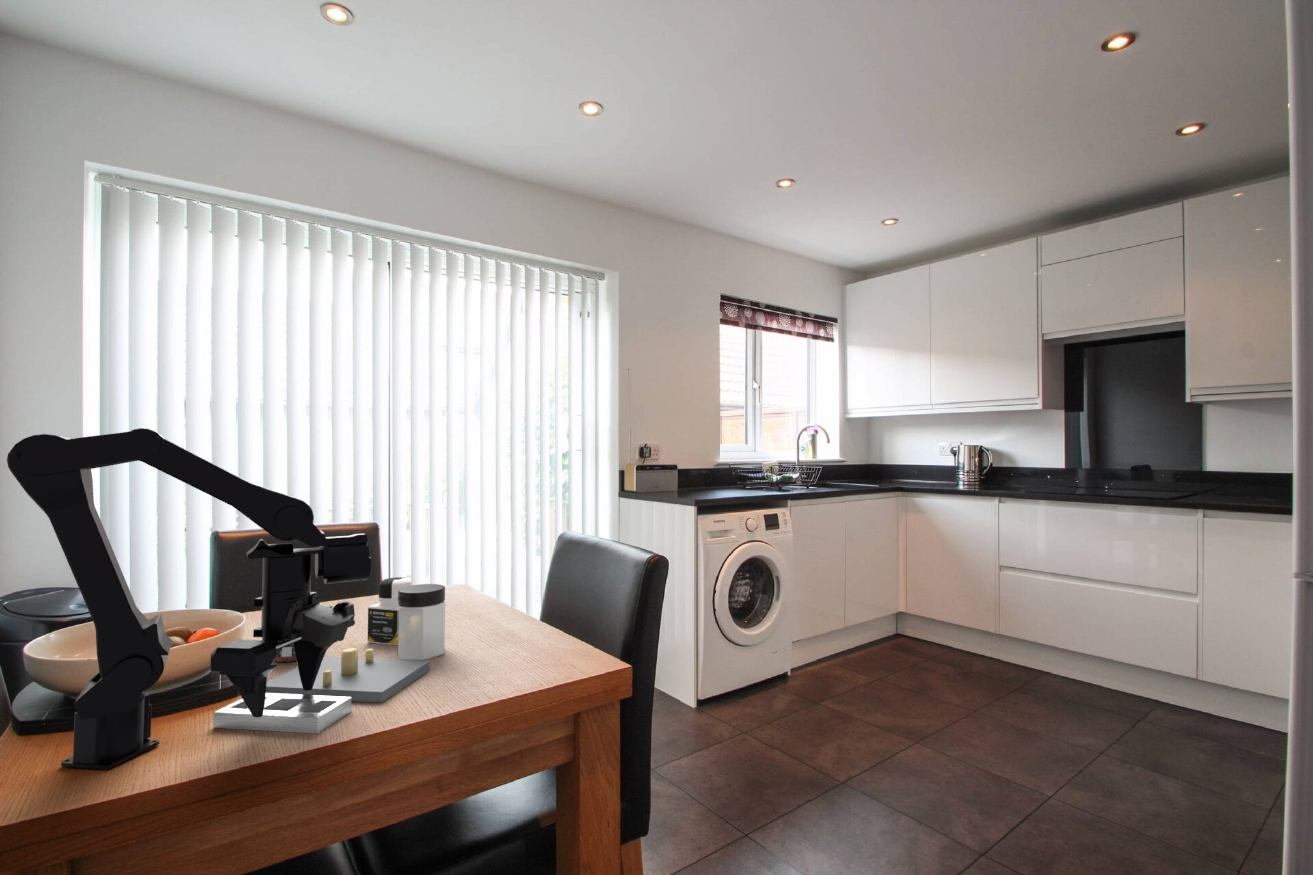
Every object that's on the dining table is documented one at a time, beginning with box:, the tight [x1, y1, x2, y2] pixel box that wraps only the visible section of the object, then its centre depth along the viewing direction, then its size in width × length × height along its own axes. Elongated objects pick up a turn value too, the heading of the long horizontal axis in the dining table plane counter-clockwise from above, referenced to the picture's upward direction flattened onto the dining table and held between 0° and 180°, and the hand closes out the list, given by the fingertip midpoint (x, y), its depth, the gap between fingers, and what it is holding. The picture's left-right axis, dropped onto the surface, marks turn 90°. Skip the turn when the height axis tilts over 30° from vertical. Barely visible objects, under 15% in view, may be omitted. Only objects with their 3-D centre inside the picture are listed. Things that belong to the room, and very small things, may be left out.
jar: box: [397, 583, 446, 661], centre depth 111 cm, size 9×8×12 cm
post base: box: [266, 647, 431, 703], centre depth 96 cm, size 14×20×5 cm
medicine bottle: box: [367, 576, 413, 646], centre depth 120 cm, size 7×7×12 cm
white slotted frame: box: [213, 693, 352, 734], centre depth 82 cm, size 15×7×2 cm, turn 83°
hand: (284, 702), depth 82 cm, fingers open, 9 cm apart
